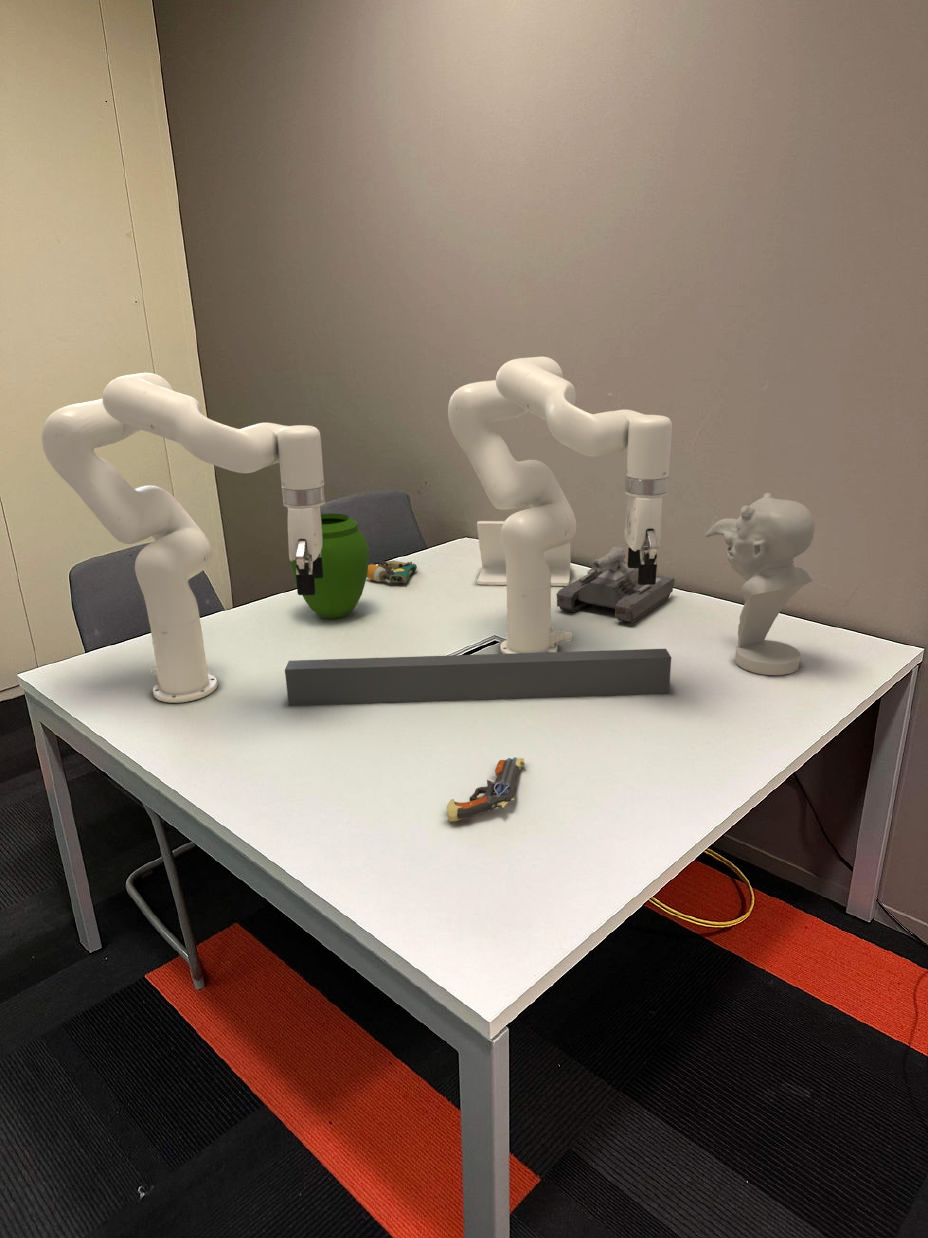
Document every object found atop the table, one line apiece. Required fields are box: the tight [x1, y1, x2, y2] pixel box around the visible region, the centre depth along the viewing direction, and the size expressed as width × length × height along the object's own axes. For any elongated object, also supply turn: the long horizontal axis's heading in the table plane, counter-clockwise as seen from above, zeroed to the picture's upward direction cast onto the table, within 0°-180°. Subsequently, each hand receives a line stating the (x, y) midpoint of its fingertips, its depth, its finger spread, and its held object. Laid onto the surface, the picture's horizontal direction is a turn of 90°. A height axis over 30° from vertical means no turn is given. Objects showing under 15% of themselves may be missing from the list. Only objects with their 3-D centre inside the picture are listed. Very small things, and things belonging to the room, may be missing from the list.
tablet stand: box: [476, 520, 572, 587], centre depth 236 cm, size 18×25×17 cm
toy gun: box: [446, 756, 526, 822], centre depth 134 cm, size 3×19×10 cm
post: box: [284, 648, 672, 707], centre depth 167 cm, size 74×4×8 cm, turn 91°
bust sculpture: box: [704, 492, 816, 676], centre depth 176 cm, size 16×24×35 cm, turn 28°
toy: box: [556, 546, 676, 624], centre depth 212 cm, size 25×20×15 cm
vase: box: [288, 512, 370, 620], centre depth 209 cm, size 20×20×24 cm
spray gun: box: [366, 560, 418, 584], centre depth 241 cm, size 4×17×15 cm
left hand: (310, 585), depth 160 cm, fingers open, 9 cm apart
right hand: (641, 575), depth 160 cm, fingers open, 9 cm apart
